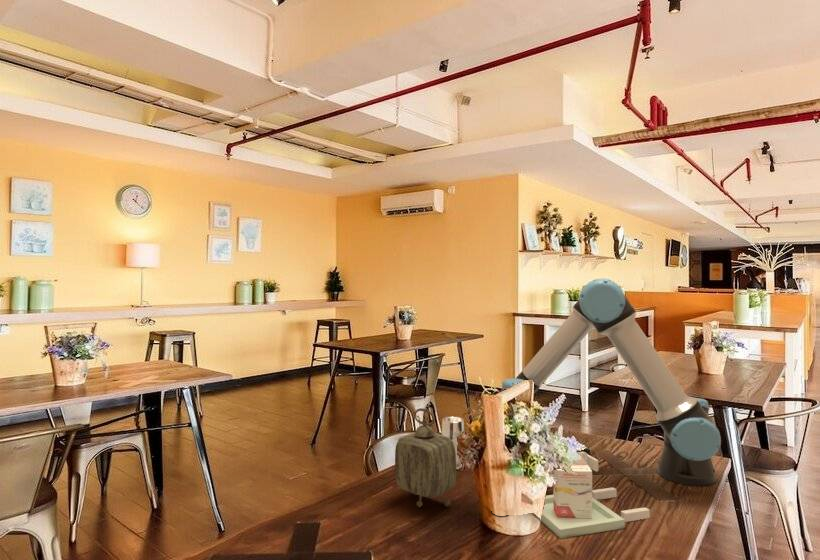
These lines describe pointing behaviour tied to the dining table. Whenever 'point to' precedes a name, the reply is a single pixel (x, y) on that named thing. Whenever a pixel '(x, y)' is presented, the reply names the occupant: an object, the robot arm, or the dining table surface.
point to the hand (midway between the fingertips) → (573, 468)
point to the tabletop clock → (425, 462)
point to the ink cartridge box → (574, 490)
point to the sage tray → (581, 520)
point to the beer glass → (453, 432)
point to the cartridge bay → (626, 514)
